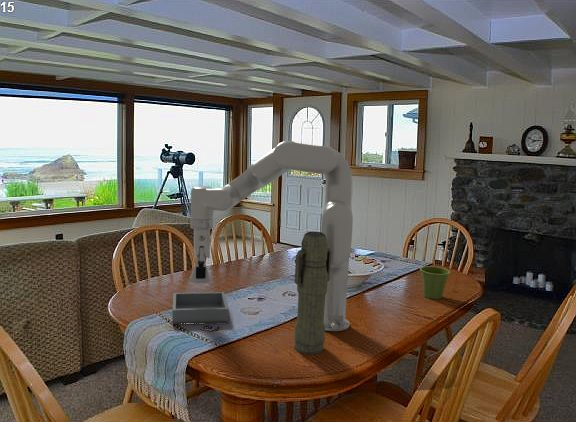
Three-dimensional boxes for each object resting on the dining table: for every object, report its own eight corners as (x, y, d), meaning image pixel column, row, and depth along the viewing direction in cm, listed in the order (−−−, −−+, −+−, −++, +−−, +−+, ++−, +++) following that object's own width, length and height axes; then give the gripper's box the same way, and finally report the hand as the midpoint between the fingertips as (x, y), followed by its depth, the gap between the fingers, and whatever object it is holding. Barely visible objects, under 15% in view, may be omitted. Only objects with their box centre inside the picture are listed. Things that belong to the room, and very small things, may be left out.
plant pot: (412, 296, 212) (414, 269, 210) (426, 290, 220) (428, 264, 219) (439, 303, 204) (441, 275, 202) (452, 297, 212) (455, 270, 211)
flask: (206, 285, 173) (207, 255, 172) (185, 282, 175) (186, 253, 173) (213, 279, 180) (214, 251, 179) (194, 277, 182) (194, 249, 180)
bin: (228, 323, 172) (228, 308, 172) (172, 325, 169) (172, 310, 168) (223, 305, 190) (224, 292, 189) (173, 306, 186) (173, 292, 185)
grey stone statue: (283, 347, 155) (289, 232, 150) (312, 338, 163) (318, 228, 158) (304, 358, 148) (310, 237, 143) (333, 348, 156) (340, 233, 151)
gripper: (214, 228, 167) (212, 283, 170) (211, 219, 184) (210, 269, 186) (190, 228, 166) (189, 283, 168) (189, 218, 182) (188, 269, 185)
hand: (200, 275), depth 177 cm, fingers closed on flask, 4 cm apart
